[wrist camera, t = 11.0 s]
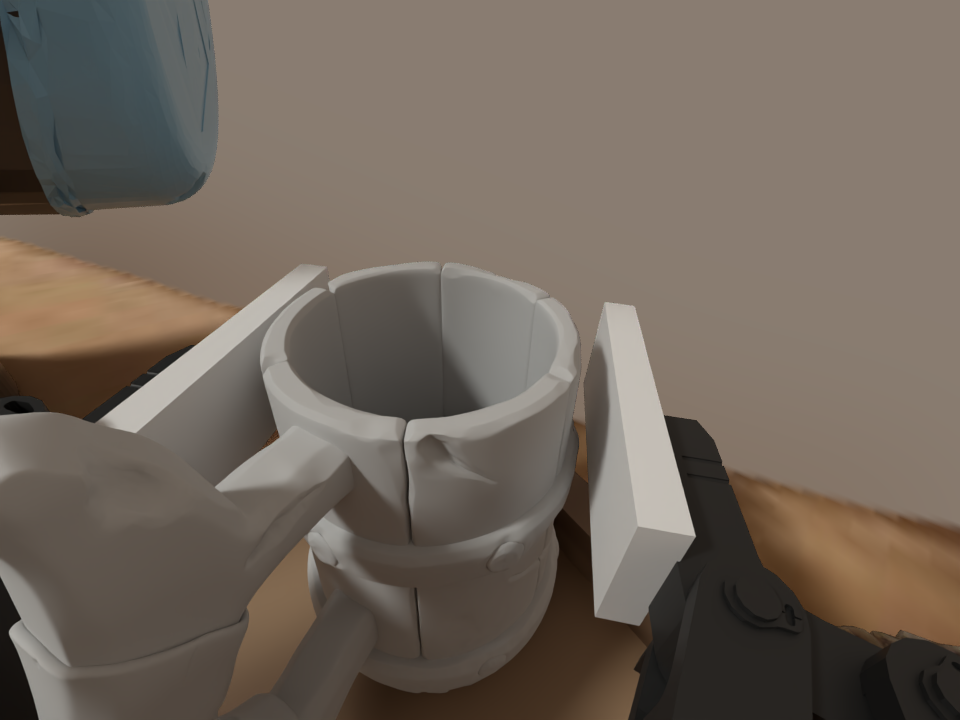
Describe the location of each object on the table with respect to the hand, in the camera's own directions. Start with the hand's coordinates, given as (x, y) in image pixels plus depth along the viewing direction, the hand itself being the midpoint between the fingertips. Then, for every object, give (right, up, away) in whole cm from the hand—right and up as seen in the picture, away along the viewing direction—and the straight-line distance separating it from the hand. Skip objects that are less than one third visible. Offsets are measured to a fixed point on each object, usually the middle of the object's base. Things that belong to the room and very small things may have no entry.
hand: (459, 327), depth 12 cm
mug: (-2, -9, +1) cm, 9 cm away
